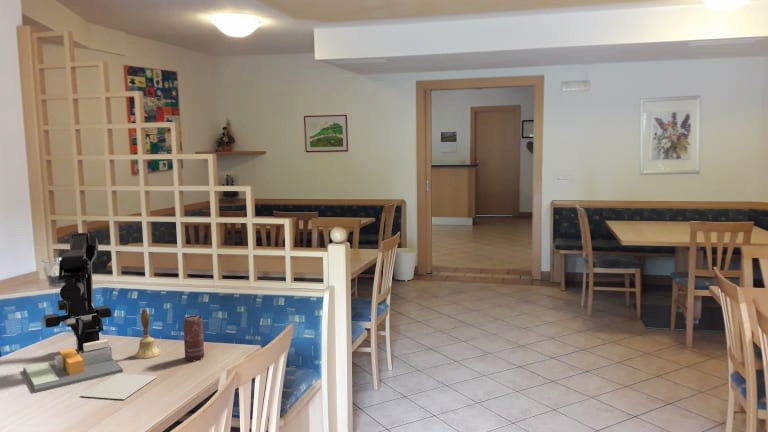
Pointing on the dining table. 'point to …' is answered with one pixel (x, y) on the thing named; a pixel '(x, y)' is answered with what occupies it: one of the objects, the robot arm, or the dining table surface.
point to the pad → (41, 374)
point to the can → (193, 337)
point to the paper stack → (119, 386)
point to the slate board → (78, 375)
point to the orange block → (72, 361)
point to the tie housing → (88, 357)
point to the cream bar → (95, 345)
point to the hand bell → (146, 340)
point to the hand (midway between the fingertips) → (79, 342)
